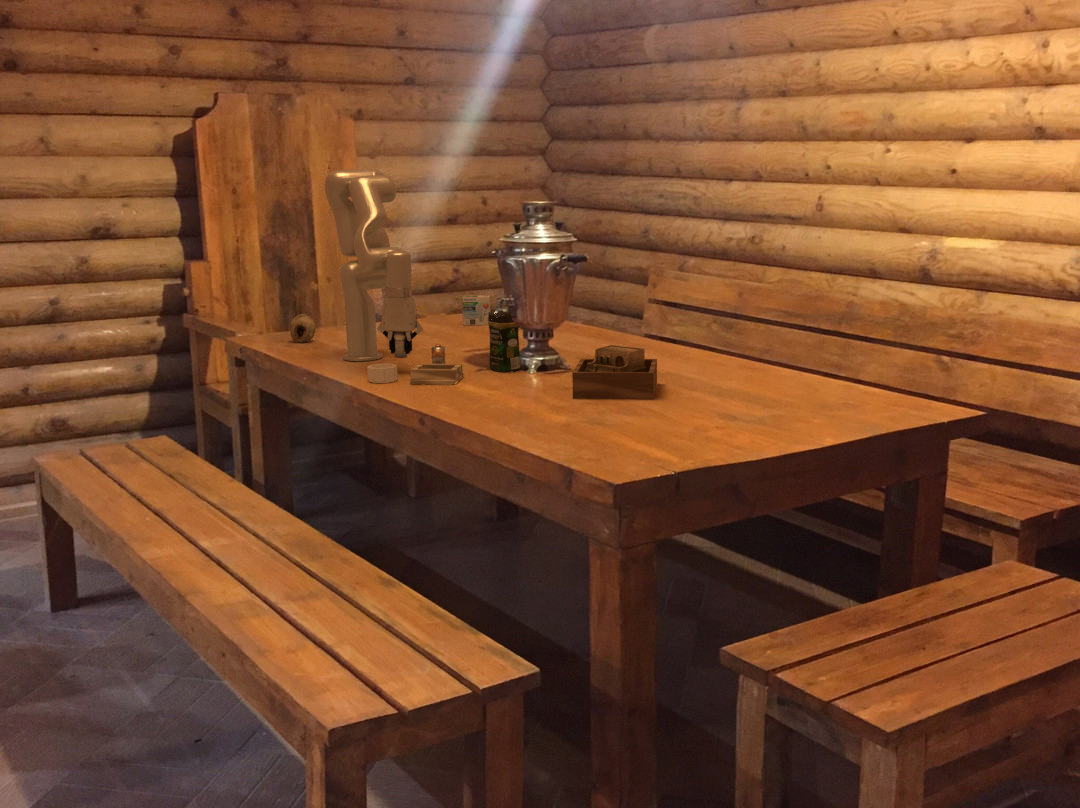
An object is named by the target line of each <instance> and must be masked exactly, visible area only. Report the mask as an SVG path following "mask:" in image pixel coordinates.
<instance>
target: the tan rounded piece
mask: <svg viewBox="0 0 1080 808" xmlns="http://www.w3.org/2000/svg"><path fill="white" fill-rule="evenodd" d="M290 324H291V325H290V328H289V331H290V336H291V340H292V341H294V342H296V343H302V344H303V343H309V342H311V340H312V339H313V338H314V337H315V334H316V328H317V327H316V323H315V322H314V320H313V319H312V316H310V315H307V314H306V313H301V314H298V315H296V316H295V317H293V319H292V320H291V322H290Z"/></svg>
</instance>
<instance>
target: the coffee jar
mask: <svg viewBox="0 0 1080 808" xmlns="http://www.w3.org/2000/svg"><path fill="white" fill-rule="evenodd" d="M496 309H497V308H493V309H492V308H491V309H490V312H489V314H488V324H489V325H488V329H489V358H488V359H489V363H488V365H489V368H490V370H493V371H496V372H500V371H503V372H502V373H505V371H508V372H510V371H514V372H516V371H518V370H520V369H521V368H520V364H521V355H520V352H521V351H520V342H519V341H520V340H519V338H520V337H519V327H520V325H519V326H517V325H516V324H515V322H514V321H513V320H512V317H511V315H510V314H509V313H506V314H504V315H503V316H501V317H498V318H496V317H495V314H496V313H495V314H494V312H495V310H496ZM491 319H492V320H491ZM515 370H516V371H515Z"/></svg>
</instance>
